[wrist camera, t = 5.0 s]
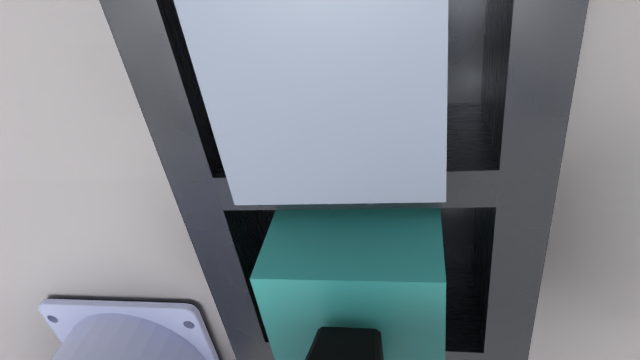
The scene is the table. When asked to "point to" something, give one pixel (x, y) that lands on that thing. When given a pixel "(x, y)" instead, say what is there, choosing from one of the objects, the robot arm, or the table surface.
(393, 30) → the slate key
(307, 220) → the teal block
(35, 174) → the table surface
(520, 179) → the grey compartment tray
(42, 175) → the table surface
